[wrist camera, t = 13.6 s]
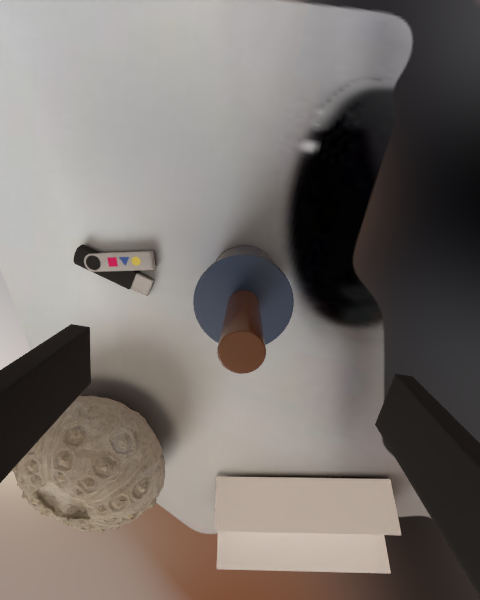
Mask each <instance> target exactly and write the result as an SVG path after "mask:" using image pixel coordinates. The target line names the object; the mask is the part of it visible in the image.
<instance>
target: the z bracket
mask: <svg viewBox="0 0 480 600" xmlns="http://www.w3.org/2000/svg"><path fill="white" fill-rule="evenodd" d="M214 531H218V546H217V569H234V570H235V569H236V570H237V569H238V570H275V571H276V570H277V571H315V572H316V571H317V572H357V573H391V572H390V566H389V561H388V555H387V549H386V544H385V538H384V535H401V531H400V526H399V521H398V516H397V510H396V505H395V500H394V495H393V490H392V485H391V480H390V479H362V478H294V477H226V476H217V477H216V498H215V523H214Z"/></svg>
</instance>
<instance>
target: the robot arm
mask: <svg viewBox="0 0 480 600" xmlns="http://www.w3.org/2000/svg"><path fill="white" fill-rule="evenodd" d="M90 383H91V370H90V327H85V326H79V325H72V324H71V325H69V326H68V327H66V328H65V329H63V330H62V331H60V332H59V333H57V334H56V335H54V336H52V337H51V338H49V339H48V340H46V341H45V342H43V343H42V344H40V345H39V346H37V347H36V348H34V349H32V350H31V351H29V352H28V353H26V354H25V355H23V356H22V357H20V358H19V359H17V360H16V361H14V362H13V363H11V364H9V365H8V366H6V367H5V368H3V369H2V370H0V483H1V481H2V480H3V479H4V478H5V477H6V476H7V475H8V474H9V473H10V471H11V470H12V469H13V468H14V467H15V466H16V465H17V464H18V463H19V462H20V461H21V459H22V458H23V457H24V456H25V455H26V454H27V453H28V452H29V451H30V449H31V448H32V447H33V446H34V445H35V444H36V443H37V442H38V441H39V439H40V438H41V437H42V436H43V435H44V434H45V433H46V432H47V431H48V430H49V428H50V427H51V426H52V425H53V424H54V423H55V422H56V421H57V420H58V418H59V417H60V416H61V415H62V414H63V413H64V412H65V411H66V410H67V408H68V407H69V406H70V405H71V404H72V403H73V402H74V401H75V400H76V399H77V397H78V396H79V395H80V394H81V393H82V392H83V391H84V390H85V389H86V387H87V386H88V385H89V384H90ZM375 425H376V427H377V428H378V430H379V432H380V433H381V435H382V437H383V438H384V440H385V442H386V443H387V445H388V447H389V448H390V450H391V451H392V453H393V455H394V456H395V458H396V460H397V461H398V463H399V465H400V466H401V468H402V470H403V471H404V473H405V475H406V476H407V478H408V480H409V481H410V483H411V485H412V486H413V488H414V490H415V491H416V493H417V495H418V496H419V498H420V499H421V501H422V503H423V504H424V506H425V508H426V509H427V511H428V513H429V514H430V516H431V518H432V519H433V521H434V523H435V524H436V526H437V528H438V529H439V531H440V532H441V534H442V536H443V537H444V539H445V541H446V542H447V544H448V546H449V547H450V549H451V551H452V552H453V554H454V556H455V557H456V559H457V561H458V562H459V564H460V566H461V567H462V569H463V570H464V572H465V574H466V576H467V577H468V579H469V581H470V582H471V583H472V586H473V587H474V589H475V590H476V592H477V594H478V595H479V597H480V443H479V442H478V441H477V440H476V439H475V438H474V437H473V436H472V435H470V433H469V432H468V431H467V430H466V429H465V428H464V427H463V426H462V425H461V424H460V423H459V422H458V421H457V420H456V419H455V418H453V416H452V415H451V414H450V413H449V412H448V411H447V410H446V409H445V408H444V407H442V405H441V404H440V403H439V402H438V401H437V400H436V399H434V397H433V396H432V395H431V394H429V393H428V391H427V390H426V389H424V387H422V385H421V384H420V383H419V382H418V381H417V380H416V379H415V378H414V377H412V376H406V375H399V374H395V376H394V379H393V381H392V384H391V386H390V389H389V392H388V394H387V396H386V399H385V401H384V404H383V406H382V409H381V411H380V414H379V416H378V419H377V421H376V424H375Z"/></svg>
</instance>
